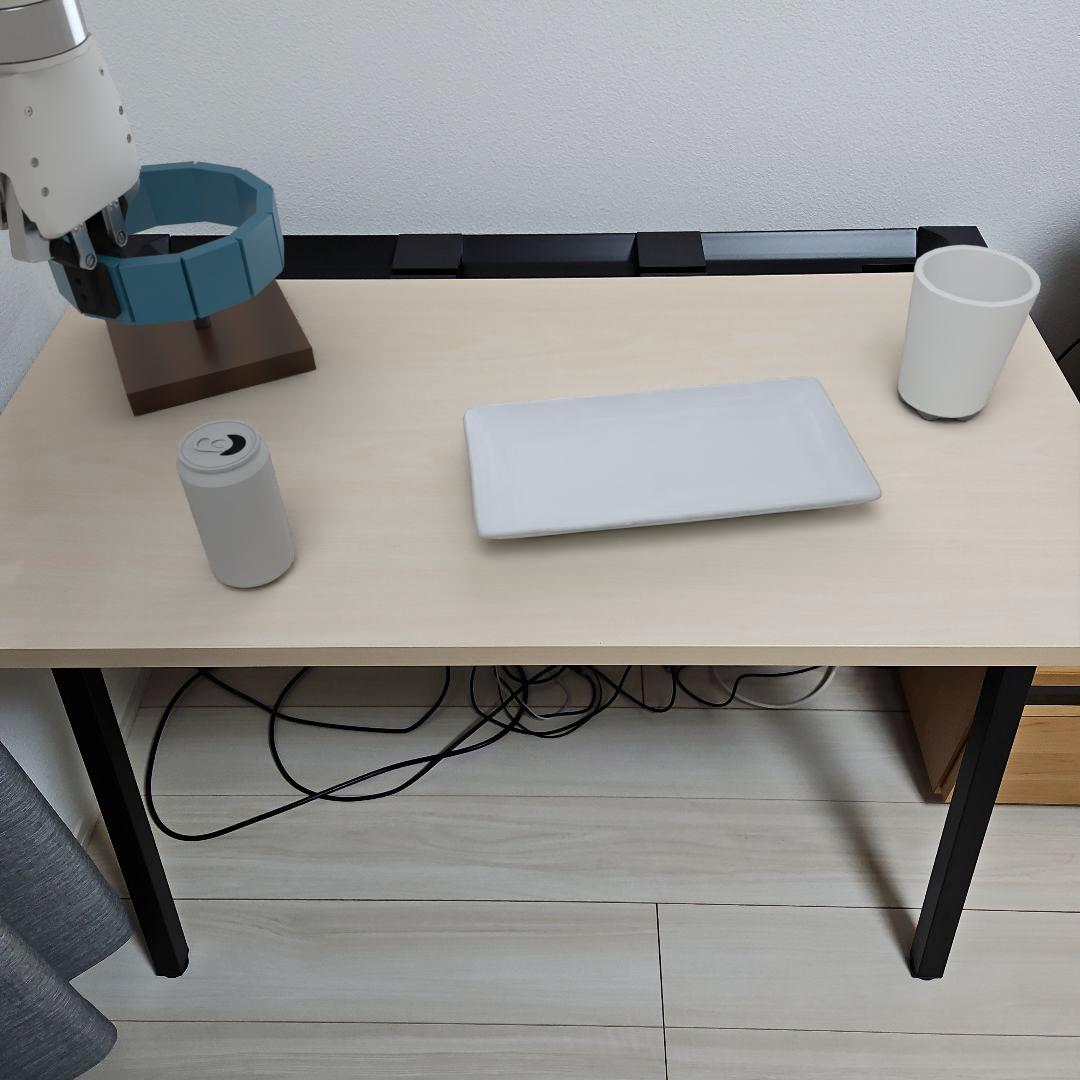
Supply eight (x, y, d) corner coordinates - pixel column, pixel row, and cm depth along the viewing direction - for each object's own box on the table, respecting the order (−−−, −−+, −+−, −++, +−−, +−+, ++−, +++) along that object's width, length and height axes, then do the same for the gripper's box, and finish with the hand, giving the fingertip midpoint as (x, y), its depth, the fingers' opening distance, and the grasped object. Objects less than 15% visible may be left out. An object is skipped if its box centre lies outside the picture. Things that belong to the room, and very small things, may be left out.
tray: (463, 434, 92) (461, 402, 90) (811, 402, 94) (818, 370, 92) (479, 570, 80) (476, 537, 77) (878, 529, 82) (887, 496, 80)
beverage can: (288, 594, 78) (254, 471, 70) (203, 594, 79) (159, 472, 70) (303, 535, 83) (274, 414, 75) (223, 535, 83) (185, 414, 75)
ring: (74, 348, 71) (52, 289, 67) (45, 242, 82) (25, 187, 78) (313, 291, 76) (303, 234, 72) (256, 199, 87) (245, 145, 84)
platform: (134, 416, 95) (112, 356, 90) (107, 325, 106) (87, 267, 101) (316, 369, 100) (304, 309, 95) (272, 286, 111) (260, 229, 106)
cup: (1009, 435, 90) (1057, 306, 82) (893, 433, 91) (928, 304, 82) (981, 369, 98) (1022, 244, 89) (874, 367, 98) (904, 242, 89)
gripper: (50, -19, 67) (131, 247, 79) (-140, 64, 56) (-12, 356, 69) (150, -8, 65) (217, 263, 77) (-27, 79, 54) (84, 377, 67)
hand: (109, 305), depth 73 cm, fingers closed on ring, 1 cm apart
